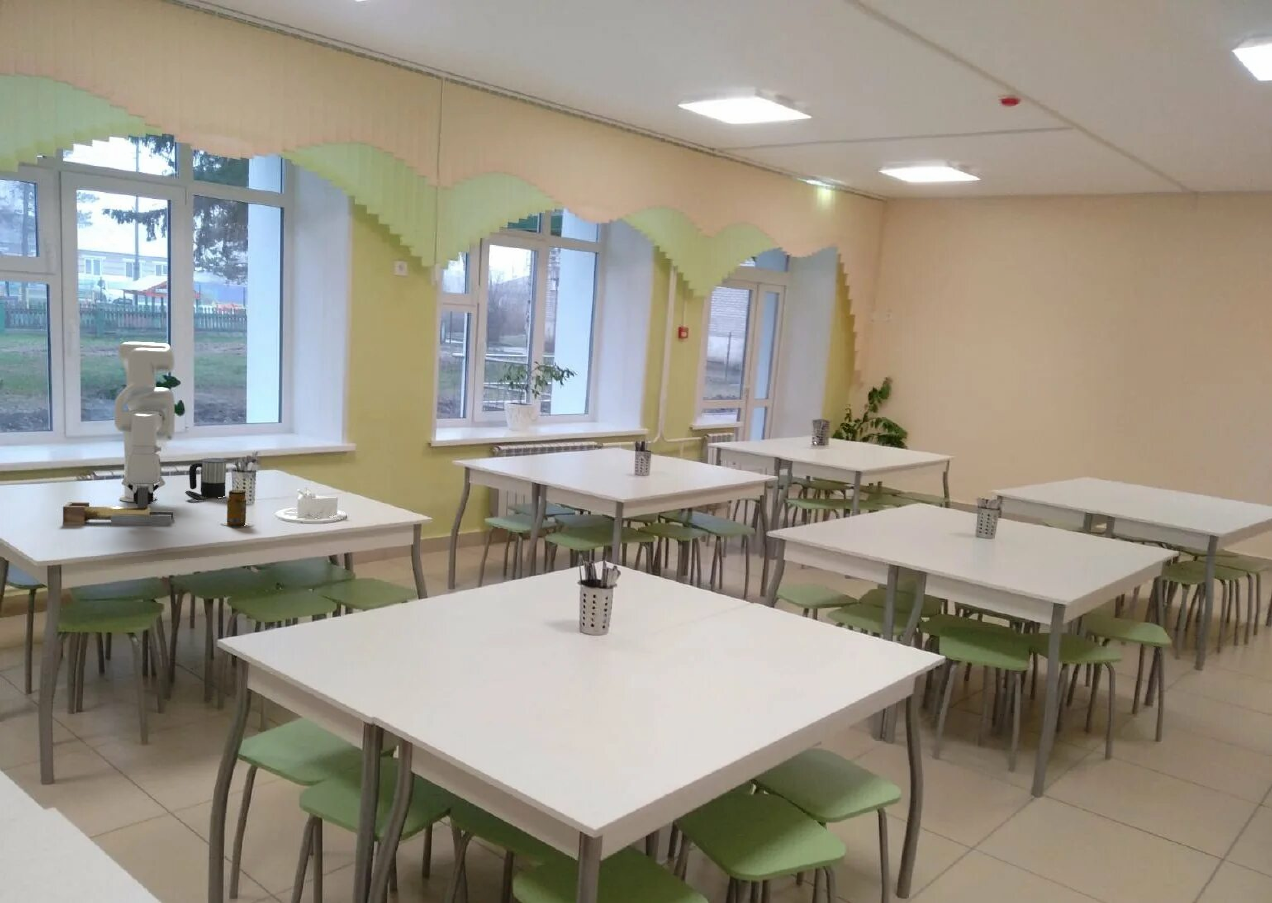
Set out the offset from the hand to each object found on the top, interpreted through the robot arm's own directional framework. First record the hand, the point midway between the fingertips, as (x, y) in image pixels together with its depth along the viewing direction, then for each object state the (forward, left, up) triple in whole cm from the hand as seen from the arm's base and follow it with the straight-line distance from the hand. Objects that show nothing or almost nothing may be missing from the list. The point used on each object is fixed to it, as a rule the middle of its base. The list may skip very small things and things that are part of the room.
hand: (143, 503), depth 325 cm
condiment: (+3, +30, -7) cm, 31 cm away
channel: (0, 0, -7) cm, 7 cm away
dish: (-13, +54, -7) cm, 56 cm away
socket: (0, -20, -7) cm, 21 cm away
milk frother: (-45, +15, -7) cm, 48 cm away
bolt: (0, -8, -7) cm, 10 cm away
